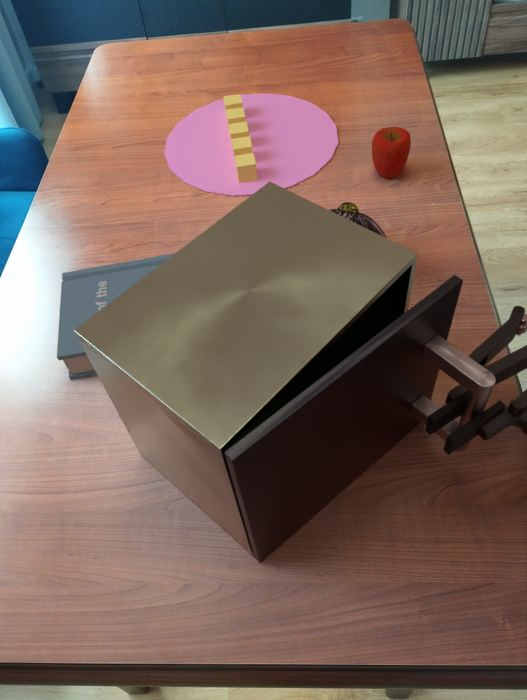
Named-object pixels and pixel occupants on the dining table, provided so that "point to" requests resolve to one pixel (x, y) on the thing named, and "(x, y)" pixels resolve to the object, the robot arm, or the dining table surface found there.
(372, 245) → the storage compartment
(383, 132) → the apple
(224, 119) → the platter
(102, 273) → the book
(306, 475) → the compartment door
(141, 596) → the dining table surface
